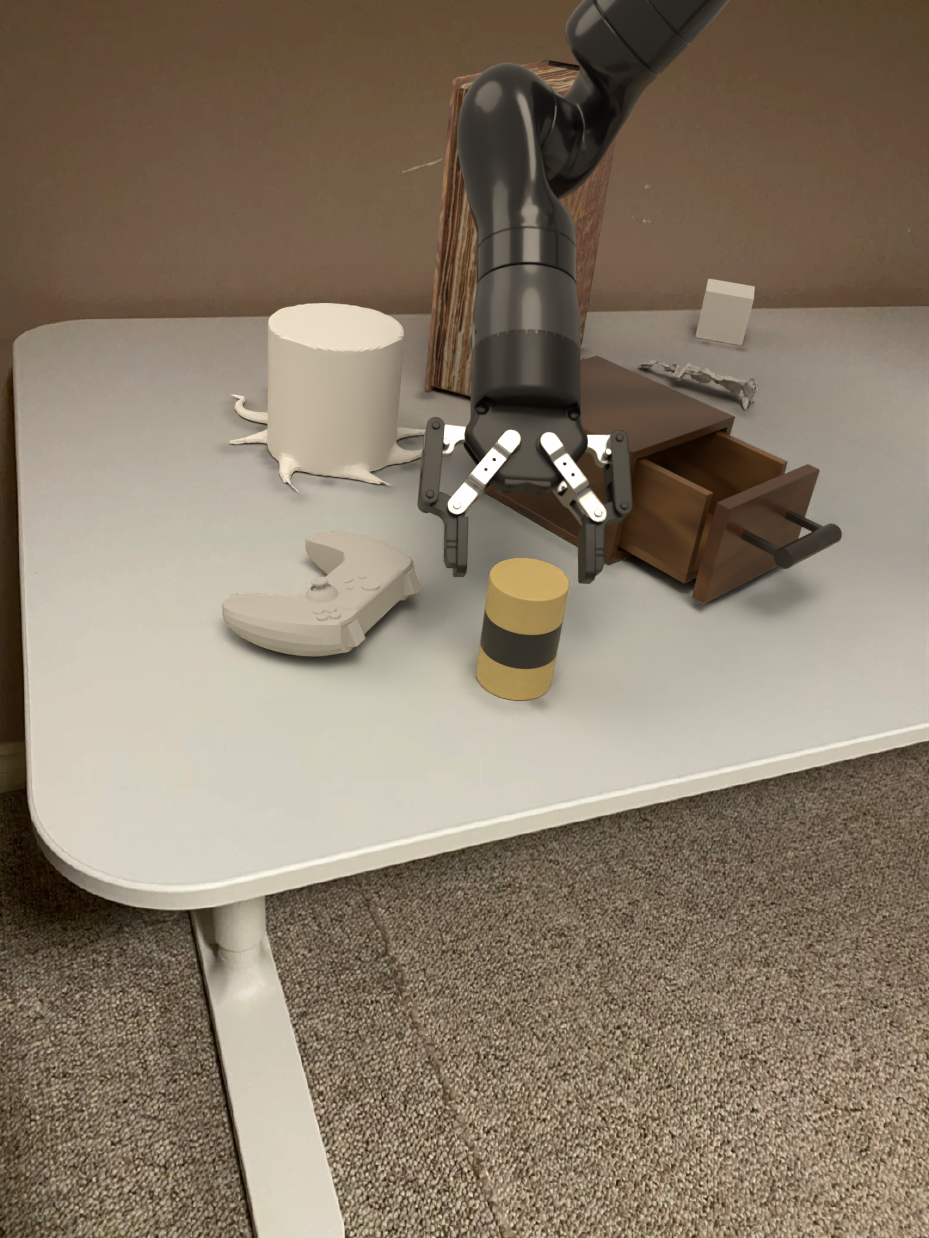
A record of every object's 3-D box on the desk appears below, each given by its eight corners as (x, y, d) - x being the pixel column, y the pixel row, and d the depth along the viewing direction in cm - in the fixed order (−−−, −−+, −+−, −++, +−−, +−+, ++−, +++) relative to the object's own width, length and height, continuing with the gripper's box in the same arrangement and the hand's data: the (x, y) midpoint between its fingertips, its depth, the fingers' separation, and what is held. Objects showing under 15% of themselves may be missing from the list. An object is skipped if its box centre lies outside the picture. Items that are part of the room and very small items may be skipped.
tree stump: (487, 445, 105) (502, 326, 98) (371, 522, 90) (380, 388, 83) (280, 375, 114) (282, 262, 107) (143, 435, 99) (135, 308, 92)
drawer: (840, 583, 88) (872, 492, 83) (753, 633, 80) (783, 536, 76) (657, 489, 99) (676, 404, 94) (565, 525, 91) (581, 434, 87)
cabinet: (708, 521, 96) (735, 416, 91) (608, 565, 88) (632, 452, 82) (579, 455, 105) (596, 355, 100) (478, 488, 97) (491, 382, 91)
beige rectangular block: (697, 323, 144) (708, 278, 140) (743, 332, 143) (754, 286, 139) (695, 337, 139) (705, 290, 135) (742, 346, 138) (753, 299, 134)
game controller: (319, 516, 83) (434, 529, 79) (328, 567, 85) (440, 583, 81) (203, 599, 72) (329, 621, 68) (216, 656, 74) (339, 680, 70)
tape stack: (566, 682, 74) (586, 584, 70) (513, 710, 71) (530, 609, 67) (513, 646, 77) (529, 549, 73) (460, 671, 74) (473, 571, 70)
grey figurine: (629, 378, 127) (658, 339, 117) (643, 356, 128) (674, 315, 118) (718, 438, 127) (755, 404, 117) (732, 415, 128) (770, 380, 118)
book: (503, 413, 112) (544, 95, 95) (422, 391, 114) (449, 78, 98) (582, 345, 132) (628, 72, 115) (512, 328, 134) (547, 59, 118)
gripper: (428, 317, 70) (422, 560, 67) (641, 333, 72) (645, 571, 69) (418, 365, 77) (412, 586, 74) (612, 378, 79) (614, 595, 76)
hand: (524, 578), depth 72 cm, fingers open, 8 cm apart
